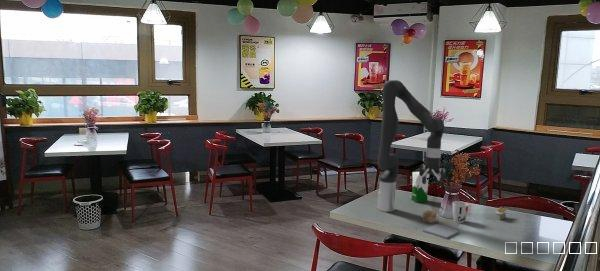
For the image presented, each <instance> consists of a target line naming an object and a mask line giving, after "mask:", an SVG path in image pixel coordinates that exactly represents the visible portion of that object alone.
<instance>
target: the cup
mask: <svg viewBox="0 0 600 271" xmlns="http://www.w3.org/2000/svg"><path fill="white" fill-rule="evenodd" d="M469 206H470V205H469V203H467V202H465V201H453V202H452V217H453V221H454V222H455V223H458V224H462V223H465V221H466V220H467V214H468V211H469Z"/></svg>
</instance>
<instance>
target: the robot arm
mask: <svg viewBox="0 0 600 271" xmlns="http://www.w3.org/2000/svg"><path fill="white" fill-rule="evenodd" d="M383 84H384V85H383V86H382V115H381V118H382V119H381V127H380V128H381V129H380V130H381V131H380V132H381V134H380V142H379V149H378V155H377V166H378V169H379V170H381V171H383V173H382V174H380V176H379V189H378V190H379V191H378V192H377V200H376V201H377V203H376V208H377V210H379V211H381V212H385V213H386V212H387V213H391V212H394V211H395V210H396V209H395V208H396V190H397V189H396V185H397V177H398V173H399V163H400V162H399V158H398V156H397V154H396V153H392V152H391V147H392V144H393V143H394V140H395V139H396V136H397V135H398V131H399V117H398V113H397V111H396V98H398V99H400V101H402V102H403V103H404V104H405V105H406V107H407V109H408V110H409V112H410V113H411V114H412V115H413V116H414V117H415V118H416V119H418V121H420V123H421V124H422V126H423V127H424V128H425V130H427V131H428V132H430V134H429V136H428V137H427V139H426V152H425V164H420V165H419V171H418V172H419V175H421V176H422V183H423V184H426V176H427V175H428V174H430V175H432V176H435V178H436V180H437V181H436V182H437V183H436V187H437V188H441V187H442V181H443V180H446V168H441V167H440V166H441V158H442V150H441V148H442V138H443V134H444V131H445V123H444V120H443V119H441V118H439V117H436V118H434V117H433V116H432V115H431V112H430V110H428V109H427V107H425V106H424V105H423V104H422V103H421V102H419V101H418V99H416V98H415V96H414V95H413V94H412V93H411V92H410V91H409V89H408V88H407V87H406V86H405V85H404V84H403V83H402V82H401V80H398V79H394V80H387V81H385V82H384V83H383ZM424 169H426V171H425V172H424Z"/></svg>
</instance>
